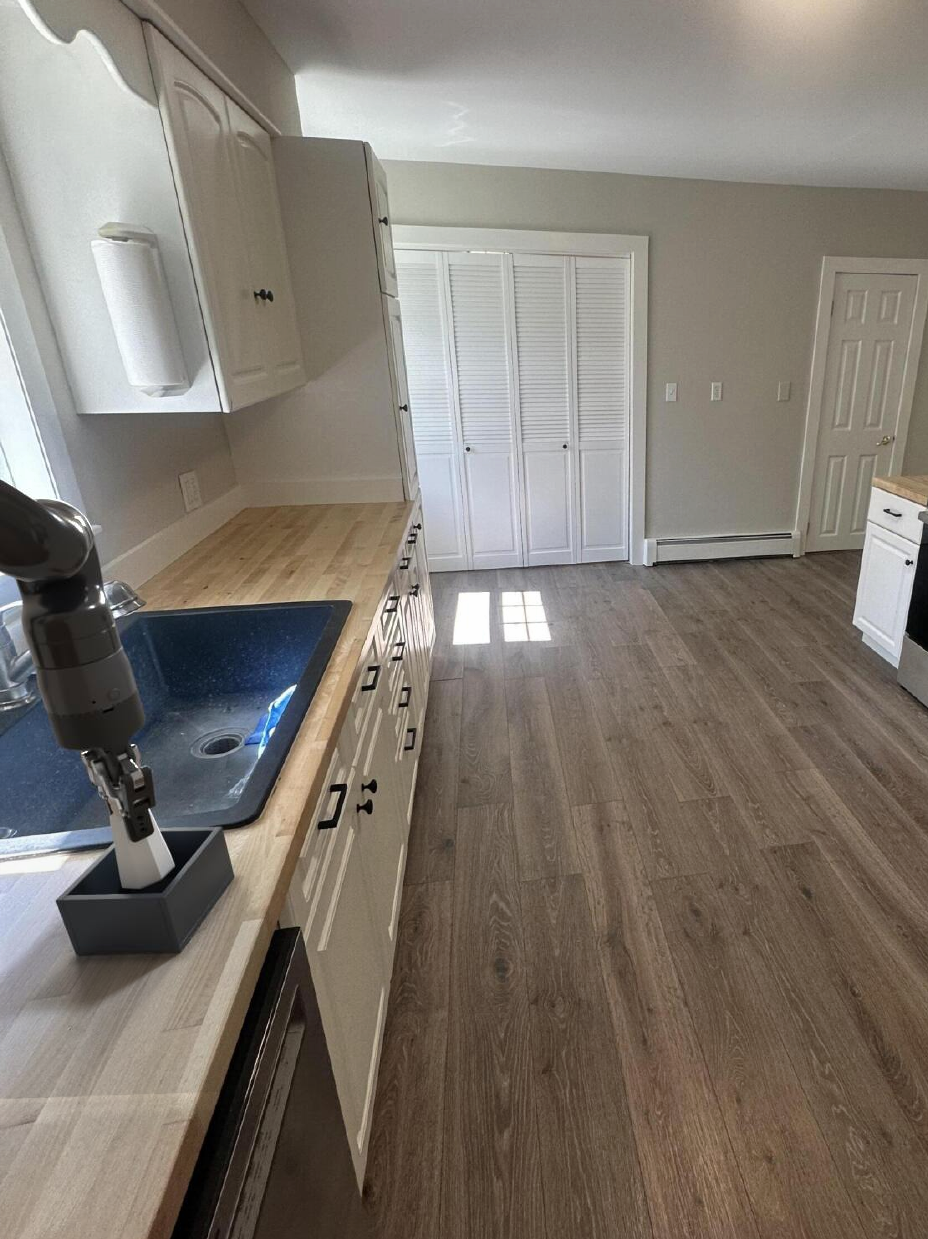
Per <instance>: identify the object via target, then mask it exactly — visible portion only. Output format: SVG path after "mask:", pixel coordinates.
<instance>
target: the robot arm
mask: <svg viewBox="0 0 928 1239" xmlns="http://www.w3.org/2000/svg"><path fill="white" fill-rule="evenodd" d="M93 531H94V530H93V529H92V526H91V524H90V522H89V520H88V519H87V518H86V516H85V515H84V514H83V513H82V512H81V511H80V510H79V509H77V508H76V507H74V506H73V505H71V504H69V503H67V502H65V501H62V500H59V499H55V498H49V497H35V498H33V497H31V496H29V495H28V494H26V493H25V492H23V491H22V490H20V489H18V488H17V487H15V486H13V485H12V484H10V483H8V482H7V481H5V480H4V479H2V478H0V573H1V574H4V575H5V576H8V577H11V578H13V579H15V582H16V585H17V589H18V592H19V595H20V598H21V602H22V608H21V616H20V619H21V620H20V621H21V628H22V632H23V635H24V636H23V637H24V639H25V642H26V646H27V648H28V650H29V654H30V657H31V661H32V662H33V665H34V666H33V667H34V670H35V676H36V682H37V687H38V691H39V694H40V696H41V699H42V703H43V705H44V706H43V707H44V708H45V711H46V714H47V718H48V720H49V722H50V726H51V729H52V731H53V735H54V738H55V740H56V743H57V745H58V746H59V747H60V748H61V749H63V750H65V751H70V752H71V751H72V752H77V753H78V755H79V757H80V760H81V762H82V764H83V766H84V769H85V771H86V773H87V776H88V778H89V781H90V785H91V787H93V788H94V789H97V790H98V795H99V797H101V798H102V800H104V803H105V806H106V809H107V812H108V816H109V817H110V816H111V815H112V814H113V811H112V809H111V805H110V804H109V802H108V797H111V798H114V799H115V801H116V803H117V806H118V808H119V813H120V814H121V815H122V818H123V821H124V824H125V828H126V831H127V834H128V837H129V839H130V840H131V841H132V842H134V843H135V842H138V841H140V840H142V839H144V838H146V837H148V836H150V835H152V834H153V833H154V827H153V824H152V820H151V817H150V814H149V810H148V809H153V808H154V807H156V805H157V804H156V802H157V801H156V797H155V796H156V795H155V789H154V779H153V774H152V772H153V770H152V768H151V767H149V765H147V764H146V765H144V766H142V763H141V759H142V755H141V753H140V750H139V748H138V746H137V745H136V744H135V743H134V744H131V742H130V740H131V739H132V737H133V736H134V735H135V734H137V733H138V732H139V731H140V730H141V729H142V728H144V725H145V724H146V722H147V717H146V713H145V711H144V707H143V703H142V700H141V696H140V693H139V688H138V685H137V682H136V678H135V675H134V672H133V667H132V665H131V662H130V660H129V658H128V656H127V654H126V652H125V650H124V647H123V645H122V641H121V638H120V634H119V631H118V626H117V623H116V619H115V616H114V614H113V611H112V608H111V606H110V604H109V601H108V598H107V595H106V593H105V586H104V585H105V584H104V580H103V573H102V567H101V561H100V557H99V553H98V552H99V551H98V547H97V541H96V538H95V534H94V532H93Z"/></svg>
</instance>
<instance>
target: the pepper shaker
mask: <svg viewBox="0 0 928 1239" xmlns="http://www.w3.org/2000/svg"><path fill="white" fill-rule="evenodd" d="M108 802H109V804H110V805H111V809H112V811H113V814H112V815H111V816H110V815H109V823H110V829H111V834H112V840H113V843H114V847H115V852H116V858H117V864H118V869H119V875H120V880H121V884H122V888H130V889H142V888H144V887H147V886H149V885H151V884H154V883H156V882H158V881H161V880H162V879H163V878H164V877H165V876H166V875H167V874H168V873H169V872H170V871H171V870H172V869H173V868H174V867H175V865H174V862H173V859H172V856H171V854H170V852H169V850H168V847H167V845H166V843H165V841H164V839H163V837H162V835H161V832H160V830H159V828H160V827H159V826H158V823H157V821H156V819H155V817H154V815H153V813H152V811H151V808H149V809H148V810H149V814H150V817H151V820H152V824H153V827H154V833H153V834H152V835H150V836H148V837H146V838H144V839H142V840H140V841H138V842H135V843H134V842H132V841H131V840H130V839H129V837H128V834H127V831H126V828H125V824H124V821H123V818H122V815H121V814H120V813H119V808H118V806H117V803H116V801H115V799H114V798H111V797H108Z"/></svg>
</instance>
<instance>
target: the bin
mask: <svg viewBox="0 0 928 1239" xmlns="http://www.w3.org/2000/svg"><path fill="white" fill-rule="evenodd" d="M158 828H159V830H160V832H161V835H162V837H163V839H164V841H165V843H166V845H167V847H168V850H169V852H170V854H171V856H172V859H173V862H174V865H175V867H174V868H173V869H172V870H171V871H170V872H169V873H168V874H167V875H166V876H165V877H164V878H163V879H162V880H161V881H158V882H156V883H154V884H151V885H149V886H147V887H144V888H142V889H130V888H122V884H121V880H120V875H119V869H118V864H117V858H116V852H115V847H114V842H113V843H112V844H111V845H109V847H107V848H106V850H105V851H104V852H103V853H101V855H100V856H98V858H97V859H96V860H94V861H93V862H92V863H91V865H90V866H89V867H88V868H86V870H84V872H83V873H81V874H80V876H78V877H77V878H76V879H75V880H74V882H72V883H71V884H70V885H69V886H68V887H67V889H66V890H64V891H63V892H62V893H61V894H60V895H59V896H58V897H57V898H56V899H55V903H56V906H57V909H58V912H59V915H60V917H61V919H62V922H63V924H64V927H65V931H66V932H67V935H68V938H69V940H70V943H71V946H72V948H73V951H74V954H75V956H102V955H103V956H107V955H109V956H110V955H139V954H142V955H143V954H177V953H178V954H179V953H182V952H183V950H185V948H186V946H187V945H188V944H189V942H190V941H191V939H192V938H193V936H194V935H195V933H196V932H197V931H198V929H199V928H200V926H201V925H202V923H203V922H204V921H205V920H206V919H207V916H208V915H209V914H210V913H211V911H212V909H213V908H214V907H215V905H216V904H217V902H218V901H219V900H220V899H221V897H222V895H223V894H224V893H225V891H226V890H227V888H228V887H229V886H230V884H231V882H232V881H233V880H234V878H235V877H236V876H235V872H234V869H233V868H234V867H233V865H232V860H231V856H230V852H229V849H228V845H227V841H226V836H225V832H224V829H223V828H224V827H223V826H189V827H187V826H186V827H185V826H183V827H158Z"/></svg>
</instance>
